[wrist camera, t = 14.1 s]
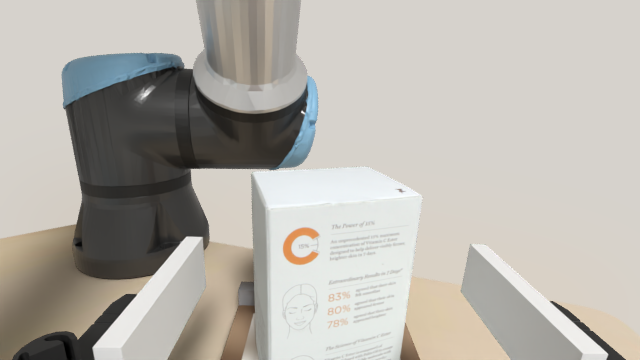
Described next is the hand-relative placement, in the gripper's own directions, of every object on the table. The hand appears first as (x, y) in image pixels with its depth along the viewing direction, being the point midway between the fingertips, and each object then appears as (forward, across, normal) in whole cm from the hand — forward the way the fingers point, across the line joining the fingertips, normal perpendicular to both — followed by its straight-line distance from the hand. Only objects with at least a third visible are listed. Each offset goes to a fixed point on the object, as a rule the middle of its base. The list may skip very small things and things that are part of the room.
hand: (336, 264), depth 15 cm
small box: (+3, 0, -10) cm, 10 cm away
